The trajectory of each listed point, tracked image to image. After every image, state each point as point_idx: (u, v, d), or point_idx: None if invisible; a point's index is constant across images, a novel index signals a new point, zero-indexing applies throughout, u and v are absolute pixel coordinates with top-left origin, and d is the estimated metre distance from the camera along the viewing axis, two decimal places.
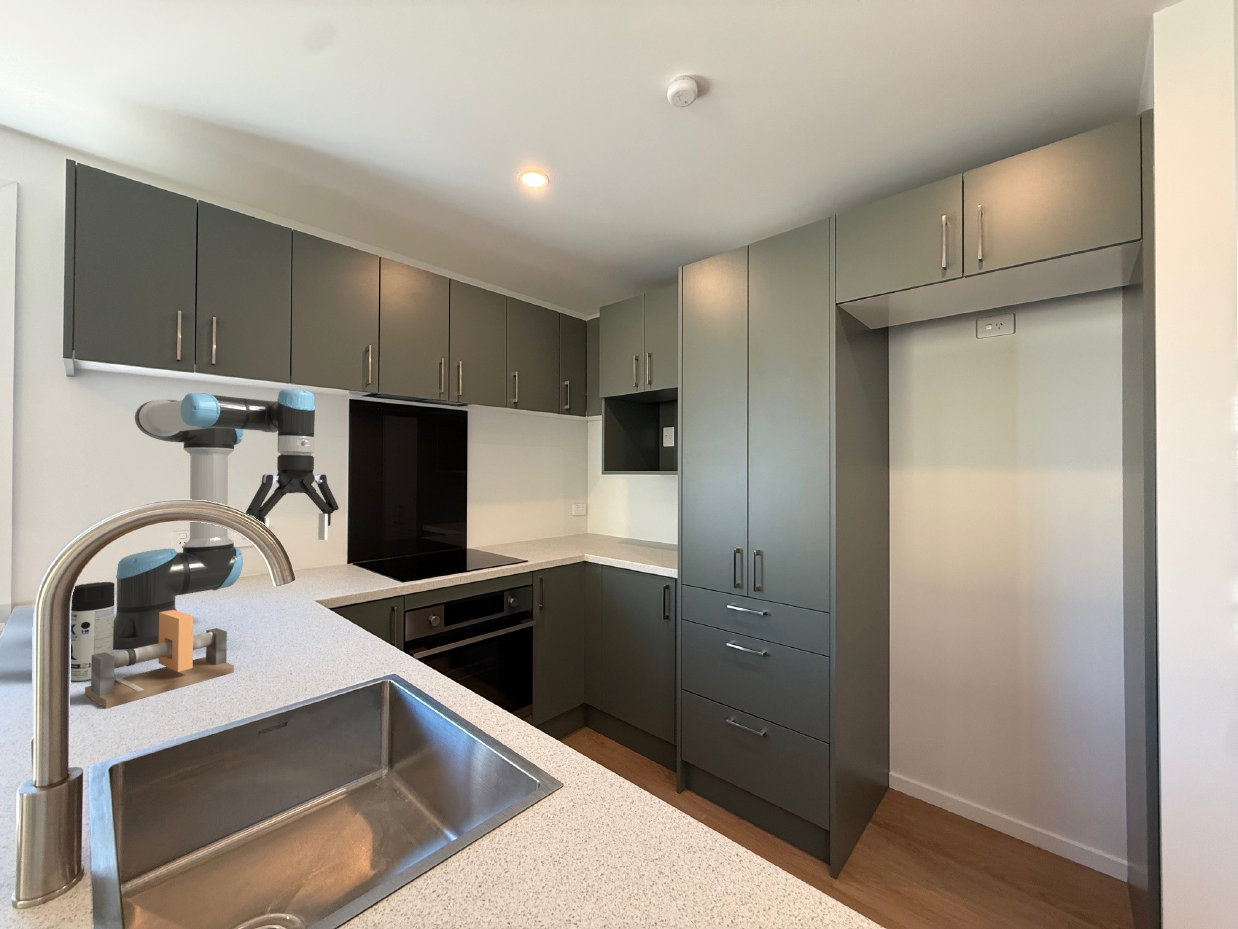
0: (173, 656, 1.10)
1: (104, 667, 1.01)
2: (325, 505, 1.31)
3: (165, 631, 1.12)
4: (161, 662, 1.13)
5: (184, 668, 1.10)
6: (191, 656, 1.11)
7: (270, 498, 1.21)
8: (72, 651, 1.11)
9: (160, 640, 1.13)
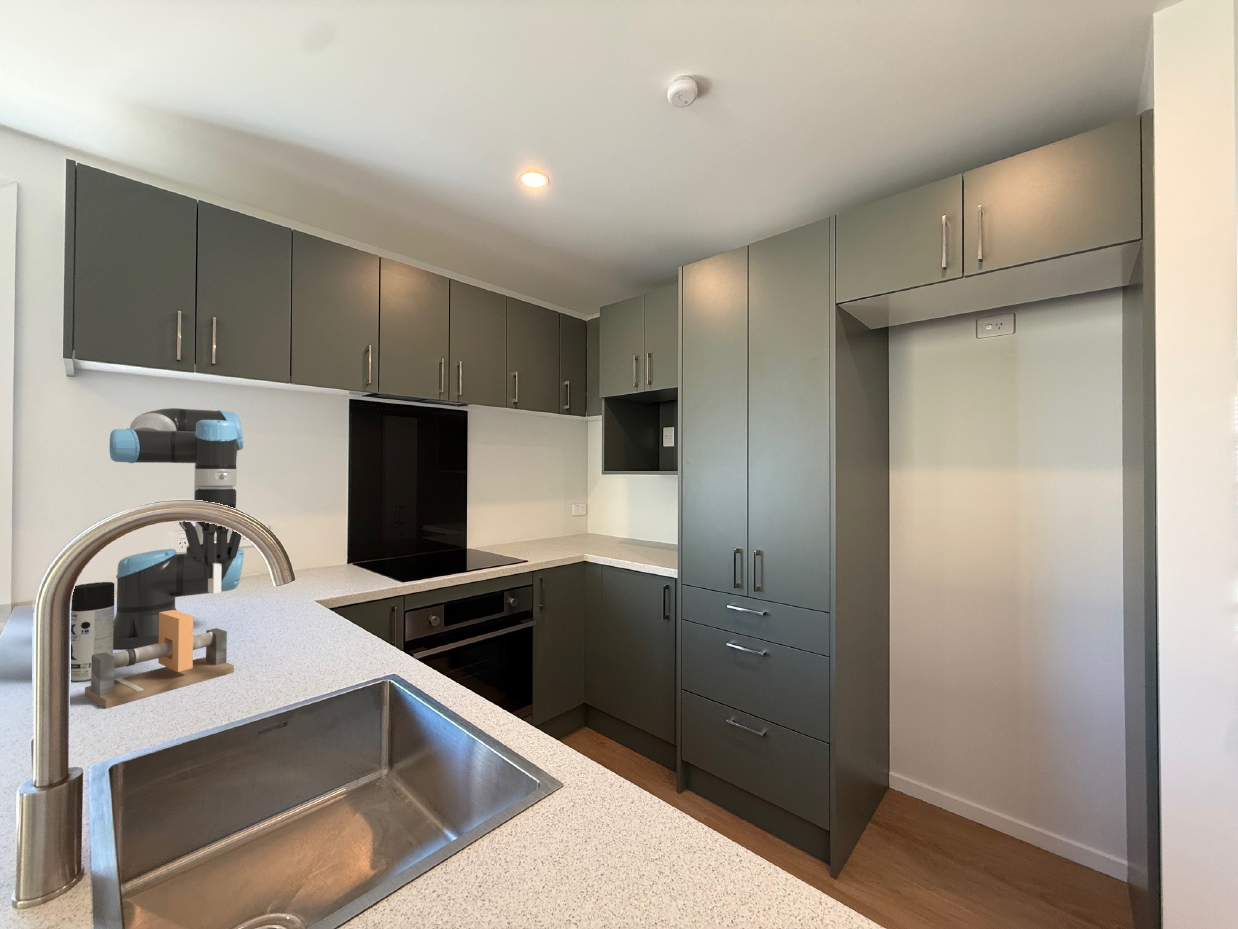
0: (173, 656, 1.10)
1: (104, 667, 1.01)
2: (224, 552, 1.19)
3: (165, 631, 1.12)
4: (161, 662, 1.13)
5: (184, 668, 1.10)
6: (191, 656, 1.11)
7: (204, 542, 1.17)
8: (72, 651, 1.11)
9: (160, 640, 1.13)
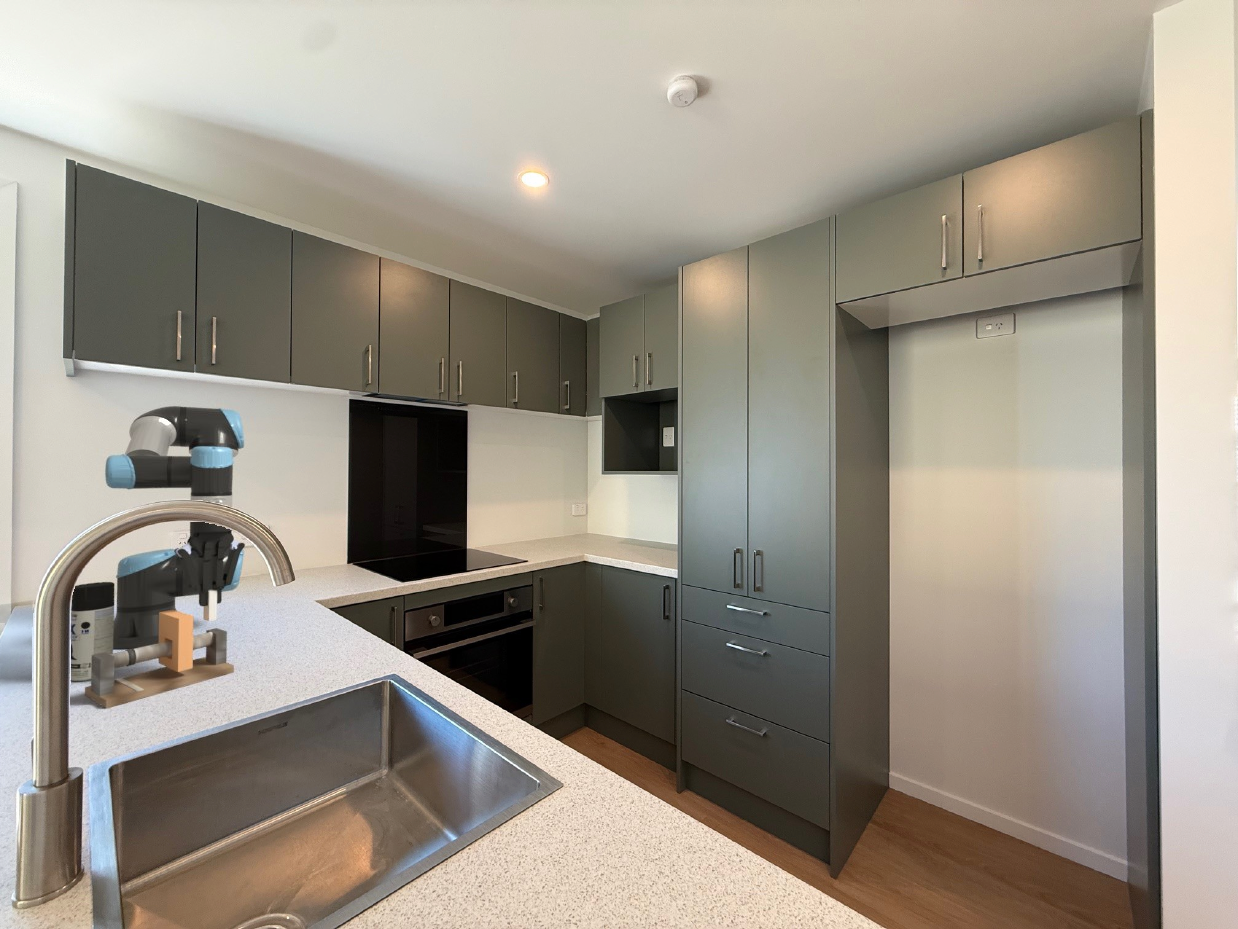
0: (173, 656, 1.10)
1: (104, 667, 1.01)
2: (220, 578, 1.19)
3: (165, 631, 1.12)
4: (161, 662, 1.13)
5: (184, 668, 1.10)
6: (191, 656, 1.11)
7: (200, 569, 1.17)
8: (72, 651, 1.11)
9: (160, 640, 1.13)
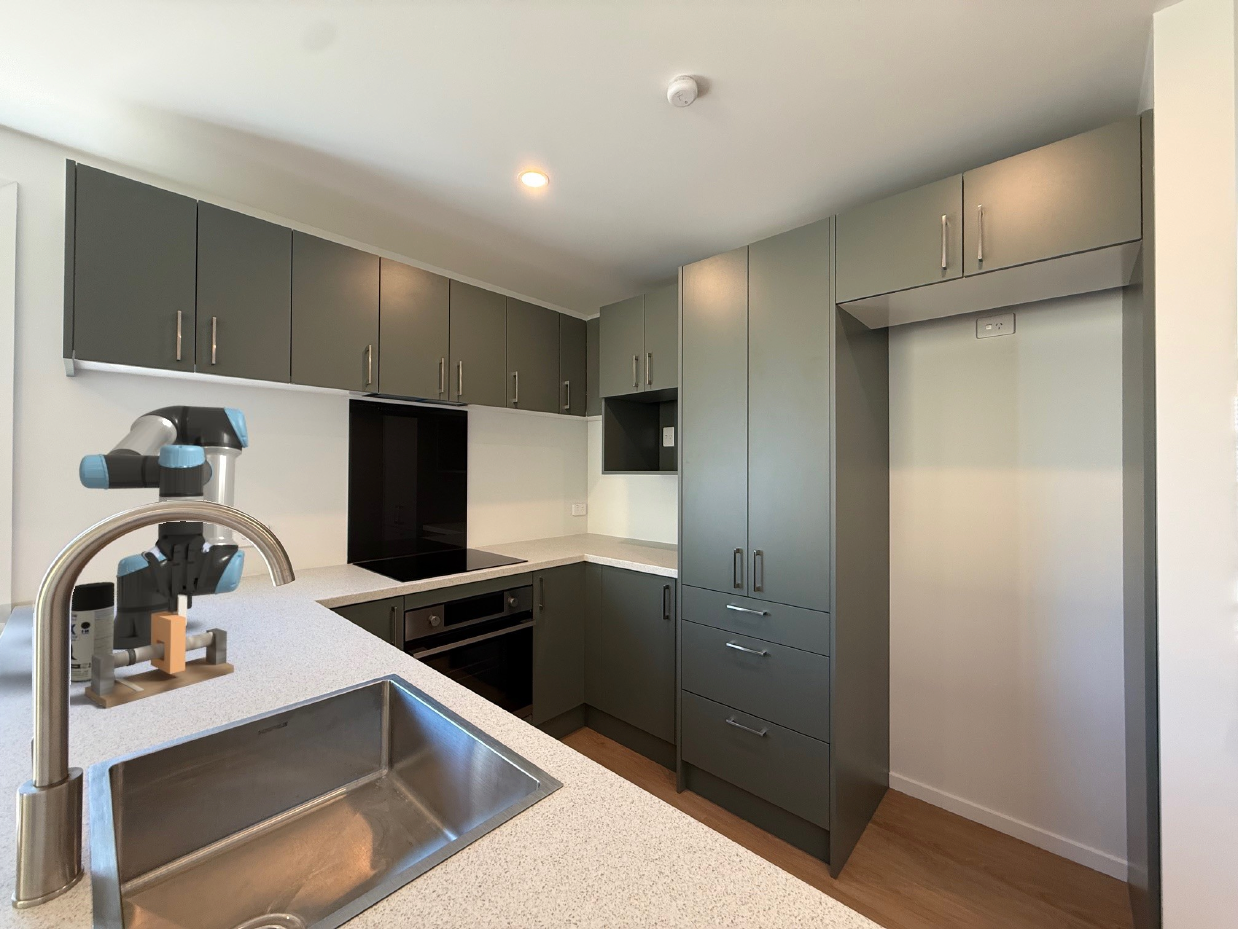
0: (165, 658, 1.09)
1: (104, 667, 1.01)
2: (190, 583, 1.14)
3: (157, 633, 1.11)
4: (153, 664, 1.12)
5: (176, 670, 1.08)
6: (183, 658, 1.10)
7: (169, 573, 1.12)
8: (72, 651, 1.11)
9: (152, 642, 1.12)
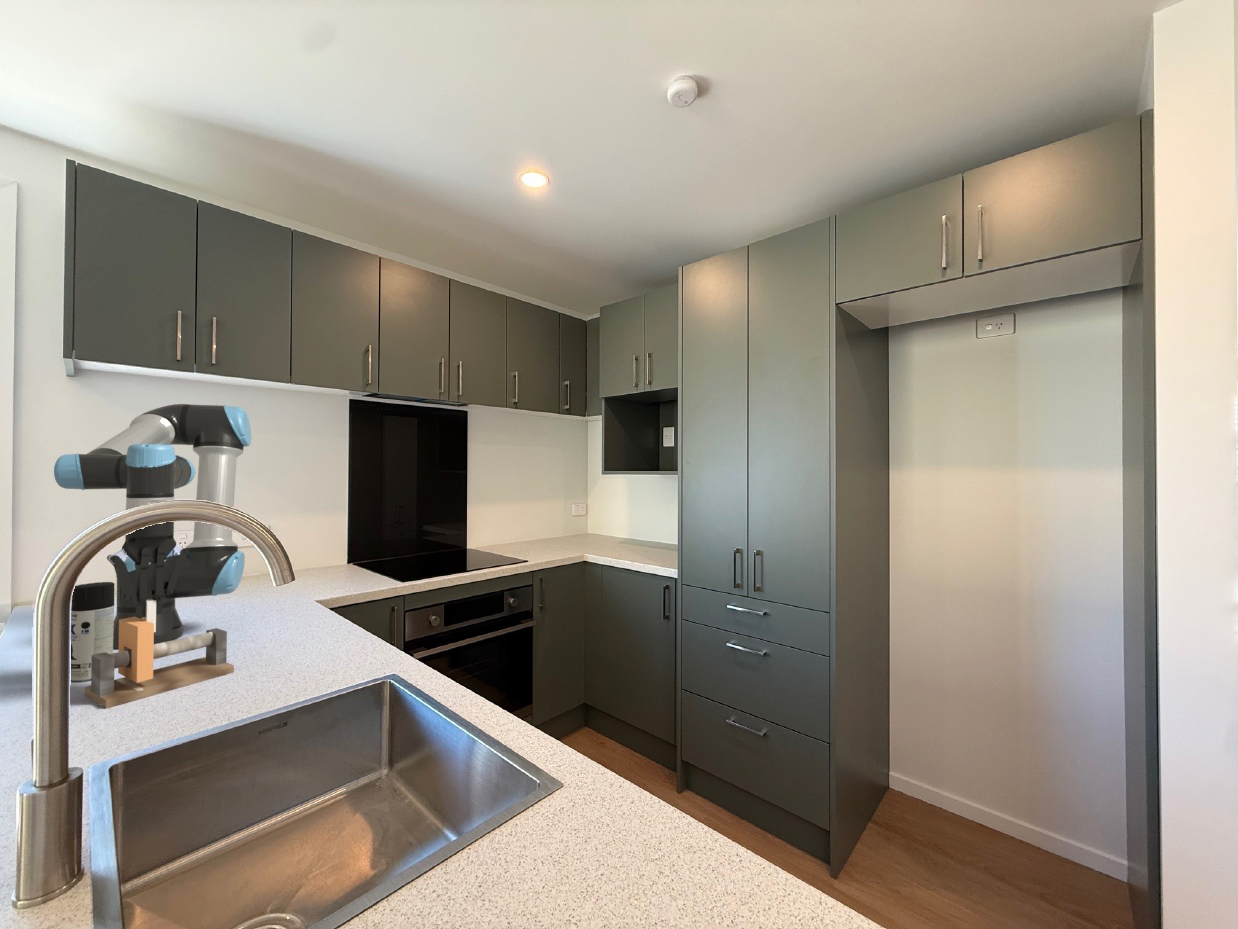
0: (132, 666, 1.04)
1: (104, 667, 1.01)
2: (160, 587, 1.09)
3: (125, 640, 1.06)
4: (121, 672, 1.07)
5: (144, 679, 1.04)
6: (151, 666, 1.05)
7: (137, 577, 1.07)
8: (72, 651, 1.11)
9: (120, 649, 1.08)
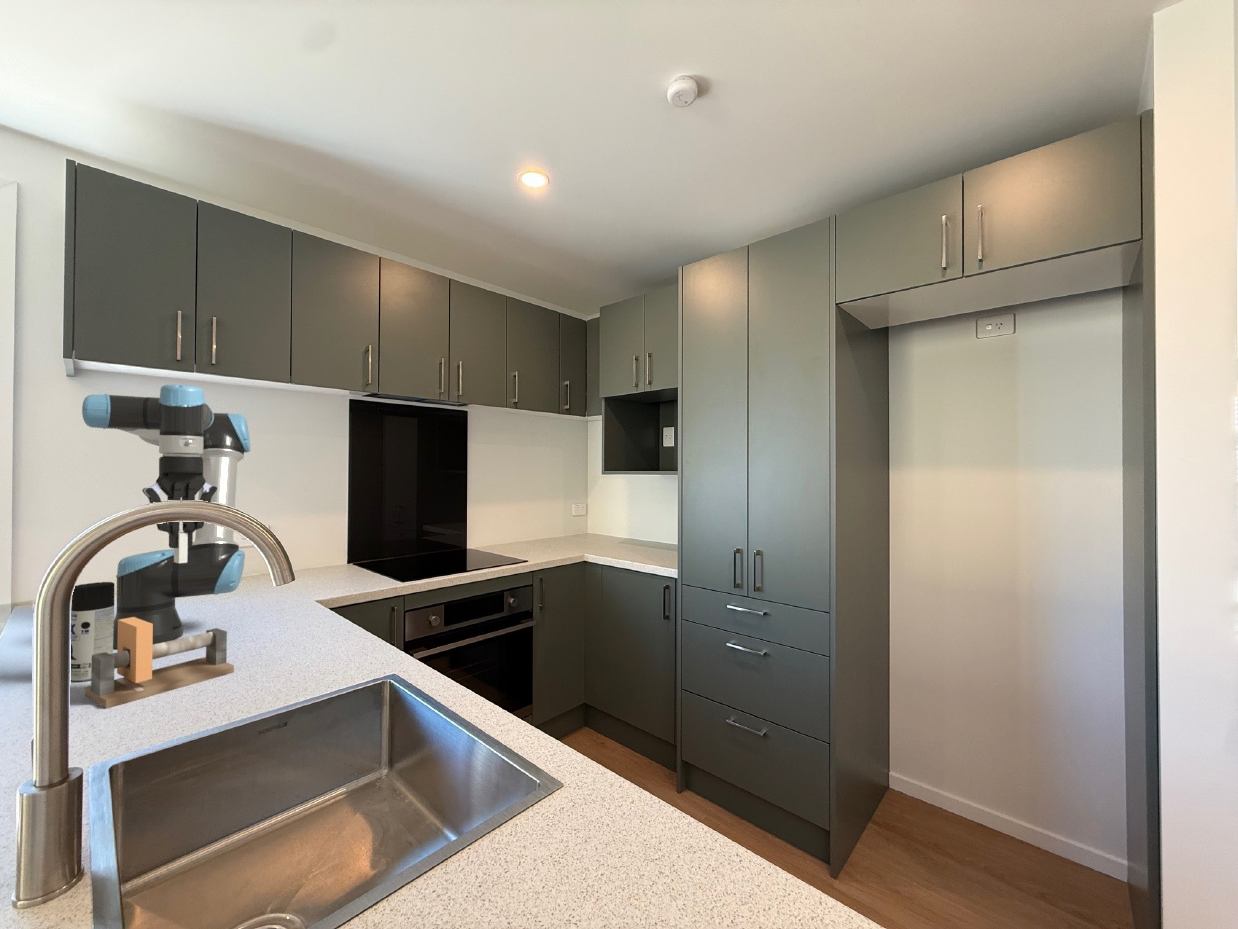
0: (131, 666, 1.04)
1: (104, 667, 1.01)
2: None
3: (124, 640, 1.06)
4: (119, 672, 1.07)
5: (142, 679, 1.04)
6: (150, 666, 1.05)
7: None
8: (72, 651, 1.11)
9: (119, 649, 1.08)
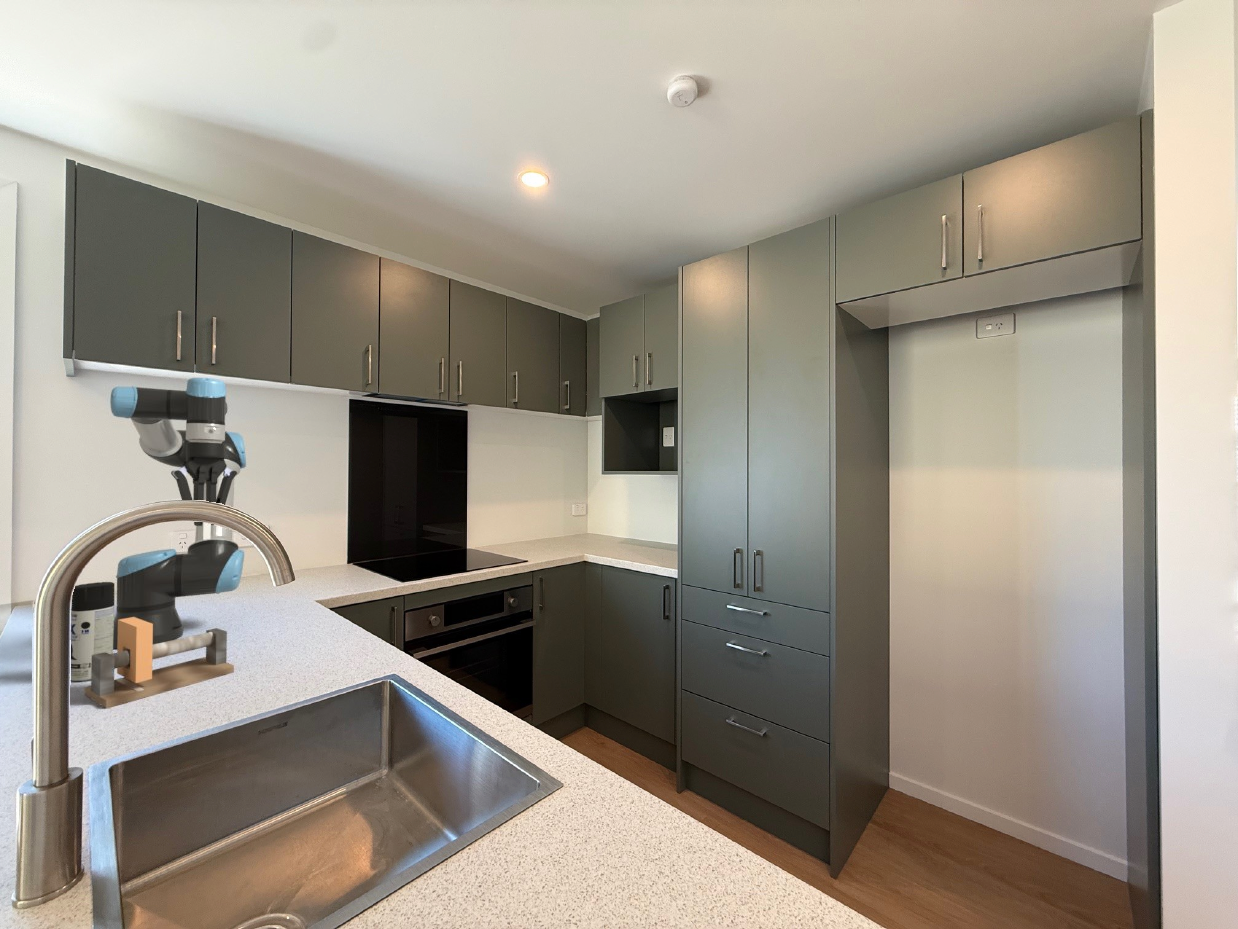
0: (131, 666, 1.04)
1: (104, 667, 1.01)
2: (213, 501, 1.28)
3: (124, 640, 1.06)
4: (119, 672, 1.07)
5: (142, 679, 1.04)
6: (150, 666, 1.05)
7: (195, 492, 1.26)
8: (72, 651, 1.11)
9: (119, 649, 1.08)
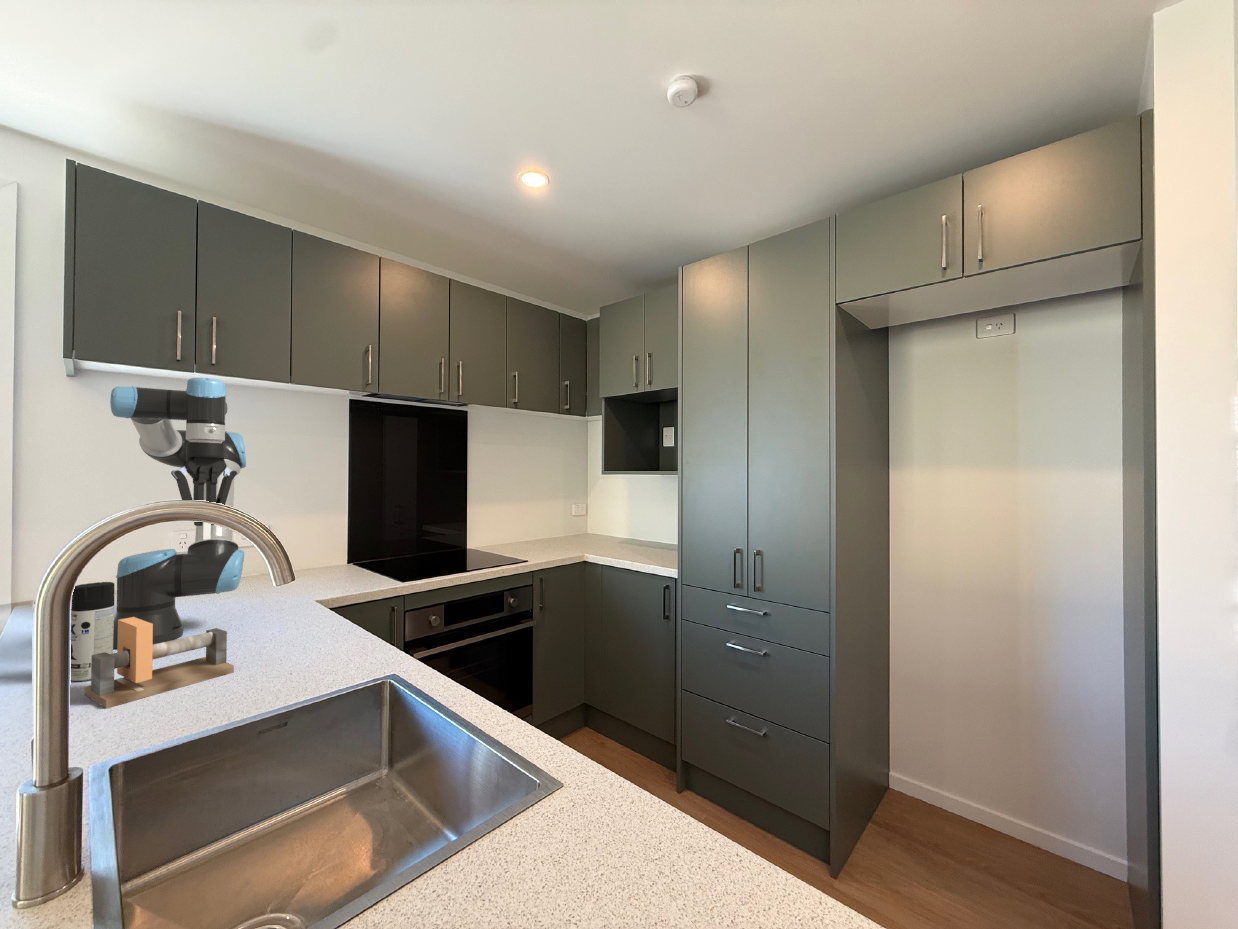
0: (131, 666, 1.04)
1: (104, 667, 1.01)
2: (213, 501, 1.28)
3: (124, 640, 1.06)
4: (119, 672, 1.07)
5: (142, 679, 1.04)
6: (150, 666, 1.05)
7: (195, 492, 1.26)
8: (72, 651, 1.11)
9: (119, 649, 1.08)
